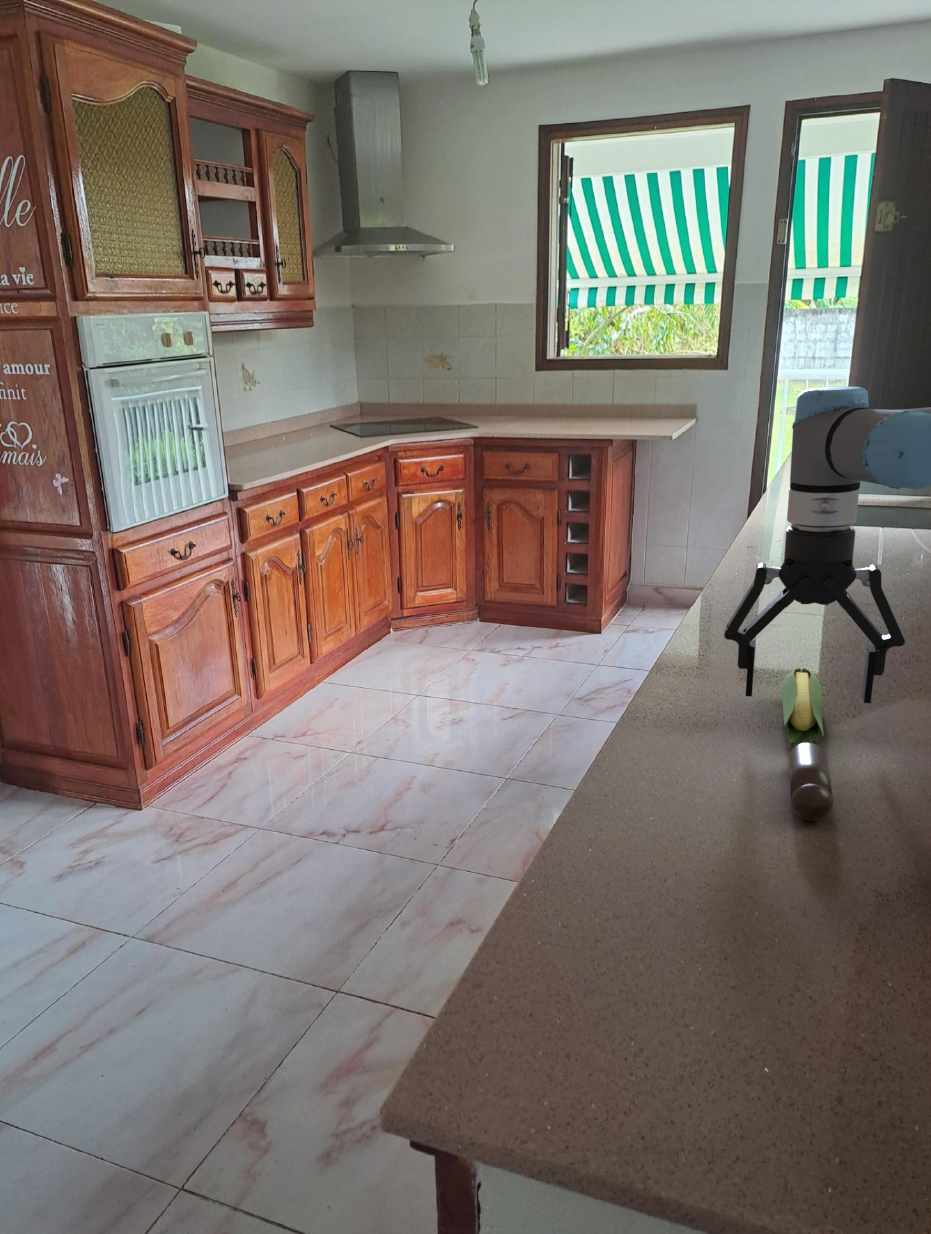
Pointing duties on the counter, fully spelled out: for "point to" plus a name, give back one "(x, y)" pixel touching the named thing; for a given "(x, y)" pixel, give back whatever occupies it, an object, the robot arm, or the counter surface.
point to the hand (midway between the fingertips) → (806, 696)
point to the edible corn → (802, 706)
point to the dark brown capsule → (810, 782)
